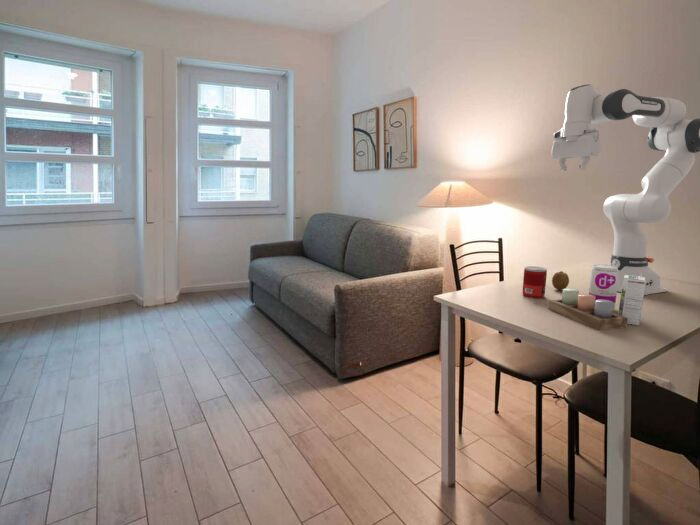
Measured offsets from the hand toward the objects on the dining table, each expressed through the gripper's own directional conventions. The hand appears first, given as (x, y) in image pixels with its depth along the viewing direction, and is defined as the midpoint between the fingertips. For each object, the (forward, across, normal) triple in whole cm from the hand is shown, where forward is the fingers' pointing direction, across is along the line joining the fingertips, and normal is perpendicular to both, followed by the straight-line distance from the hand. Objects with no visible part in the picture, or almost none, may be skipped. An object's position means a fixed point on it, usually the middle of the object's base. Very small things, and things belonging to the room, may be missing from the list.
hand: (572, 170), depth 152 cm
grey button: (+46, -34, +13) cm, 58 cm away
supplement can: (+48, -20, 0) cm, 52 cm away
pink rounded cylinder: (+46, -27, +13) cm, 55 cm away
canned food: (+48, 0, +12) cm, 50 cm away
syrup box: (+48, -34, +3) cm, 59 cm away
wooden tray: (+48, -27, +13) cm, 57 cm away
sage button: (+46, -20, +13) cm, 52 cm away
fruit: (+48, +5, -4) cm, 49 cm away
